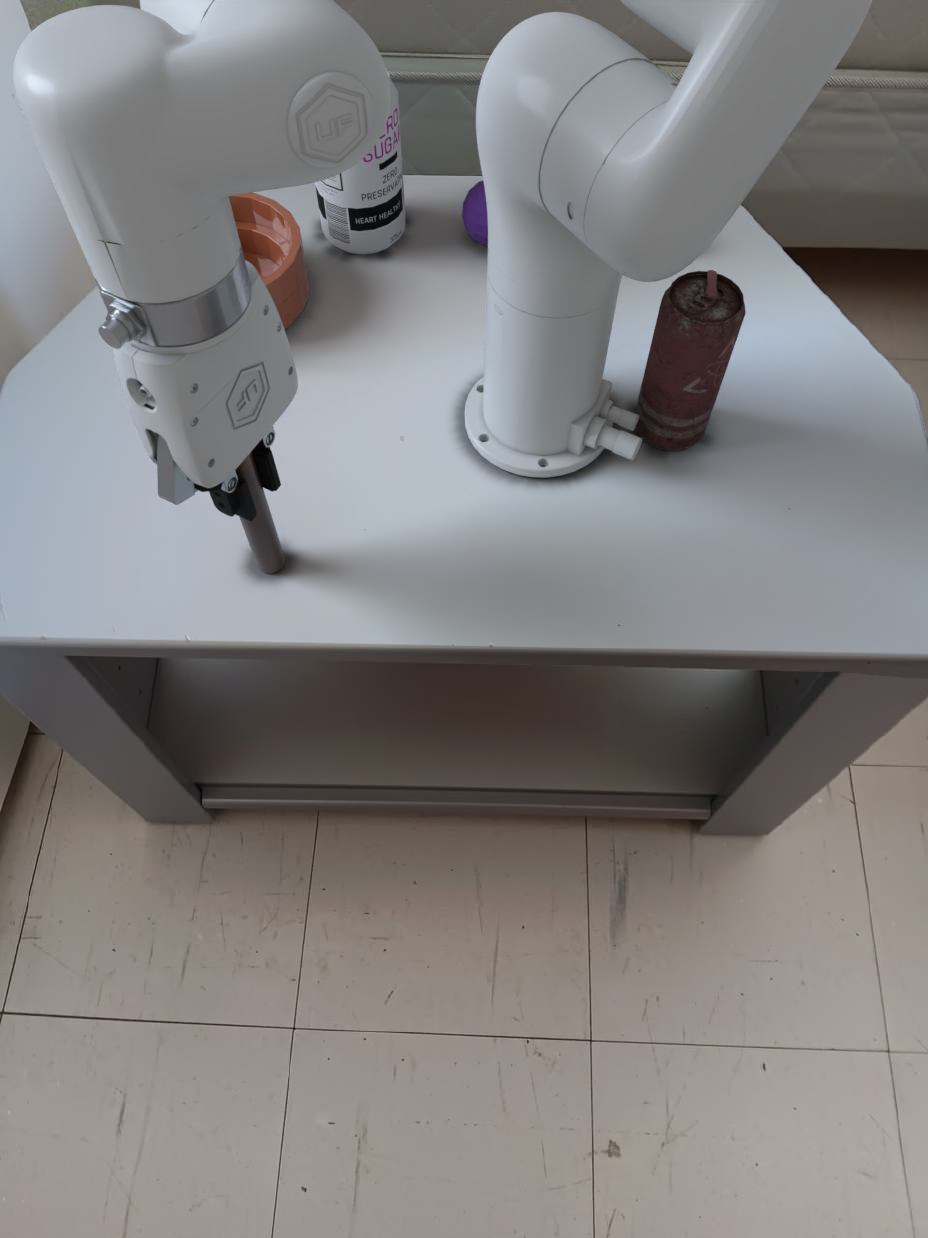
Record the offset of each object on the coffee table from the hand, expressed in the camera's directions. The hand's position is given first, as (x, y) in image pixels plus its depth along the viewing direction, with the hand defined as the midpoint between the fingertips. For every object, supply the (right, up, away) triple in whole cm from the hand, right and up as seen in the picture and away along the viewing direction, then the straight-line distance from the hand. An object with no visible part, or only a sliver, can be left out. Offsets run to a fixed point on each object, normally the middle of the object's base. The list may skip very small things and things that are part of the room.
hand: (248, 494), depth 64 cm
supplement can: (+5, +30, +27) cm, 40 cm away
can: (+33, +8, +15) cm, 37 cm away
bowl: (-7, +22, +22) cm, 32 cm away
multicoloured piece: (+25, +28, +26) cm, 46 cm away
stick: (0, -4, +7) cm, 9 cm away
